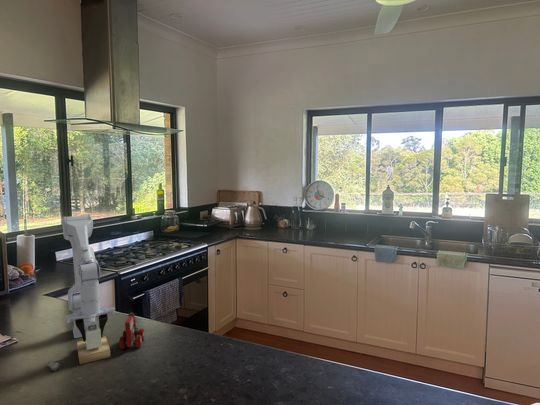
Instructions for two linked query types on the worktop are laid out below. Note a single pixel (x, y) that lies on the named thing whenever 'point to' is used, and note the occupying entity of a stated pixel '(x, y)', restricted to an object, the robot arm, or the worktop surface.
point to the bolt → (53, 365)
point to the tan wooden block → (93, 351)
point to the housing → (92, 335)
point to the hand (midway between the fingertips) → (92, 338)
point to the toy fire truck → (131, 333)
